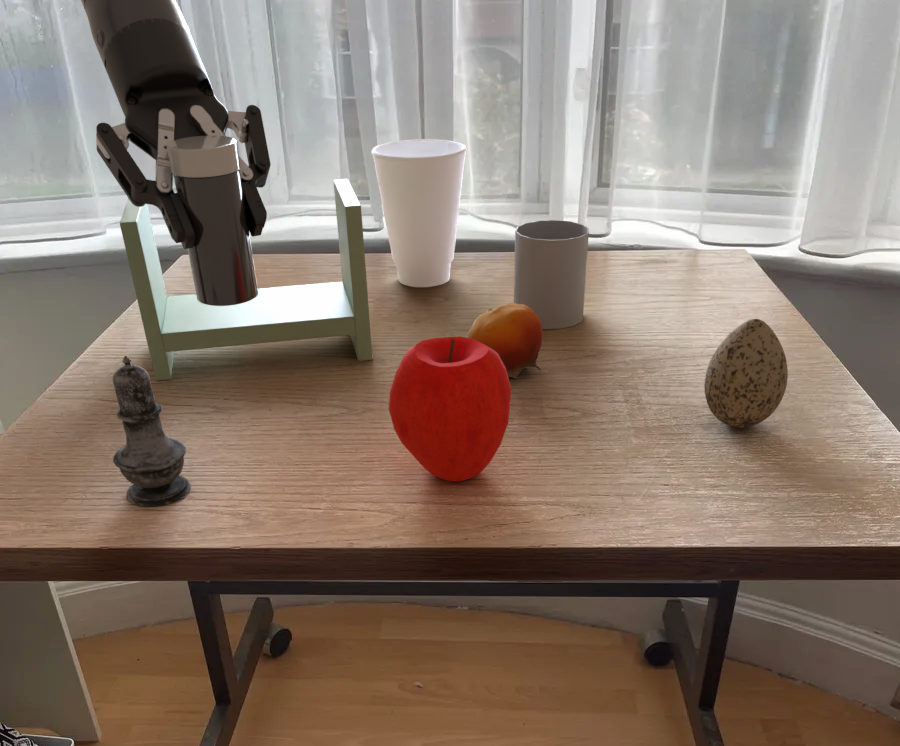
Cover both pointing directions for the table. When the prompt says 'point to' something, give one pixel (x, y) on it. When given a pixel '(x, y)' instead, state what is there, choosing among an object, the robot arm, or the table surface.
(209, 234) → the tumbler
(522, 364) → the fruit
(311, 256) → the table surface
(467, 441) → the apple
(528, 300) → the cup
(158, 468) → the salt shaker
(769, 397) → the decorative egg
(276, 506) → the table surface
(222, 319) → the shelf
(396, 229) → the cup
